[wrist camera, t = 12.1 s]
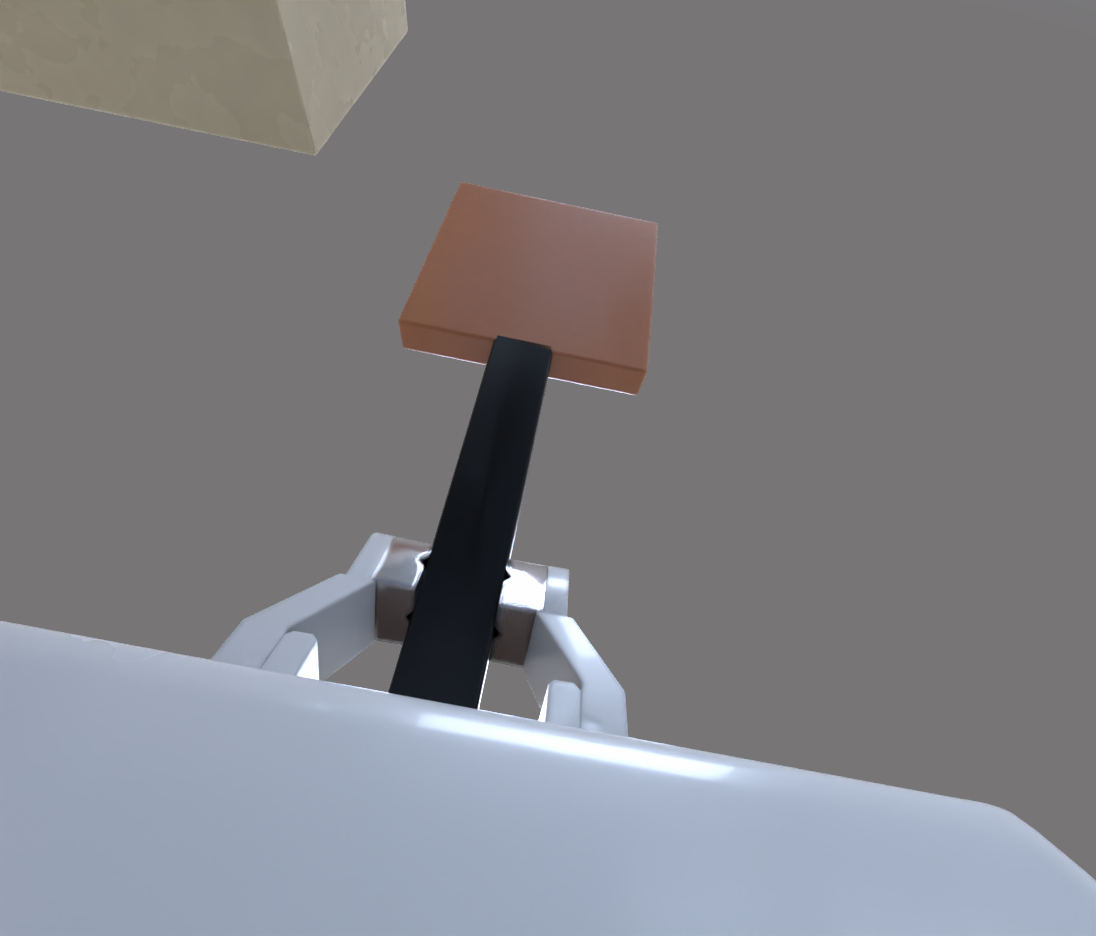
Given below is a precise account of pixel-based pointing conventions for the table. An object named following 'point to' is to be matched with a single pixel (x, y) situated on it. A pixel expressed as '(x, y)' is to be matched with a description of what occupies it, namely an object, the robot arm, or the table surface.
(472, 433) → the black orange t-shaped piece
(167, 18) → the cream rectangular block
